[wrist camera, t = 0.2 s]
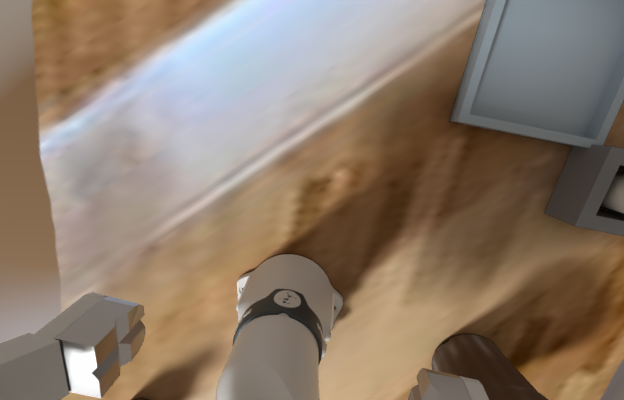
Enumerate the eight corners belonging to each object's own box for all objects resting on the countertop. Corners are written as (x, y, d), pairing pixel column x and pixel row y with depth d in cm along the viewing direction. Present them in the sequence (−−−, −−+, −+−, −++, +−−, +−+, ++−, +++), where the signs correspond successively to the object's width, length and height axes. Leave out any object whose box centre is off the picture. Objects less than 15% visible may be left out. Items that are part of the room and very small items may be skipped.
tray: (582, 148, 43) (600, 150, 40) (448, 121, 43) (457, 121, 40) (650, -6, 38) (676, -17, 35) (497, -37, 38) (511, -50, 35)
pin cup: (613, 226, 46) (653, 242, 40) (543, 212, 46) (574, 226, 40) (647, 157, 43) (697, 163, 37) (574, 142, 43) (612, 146, 37)
